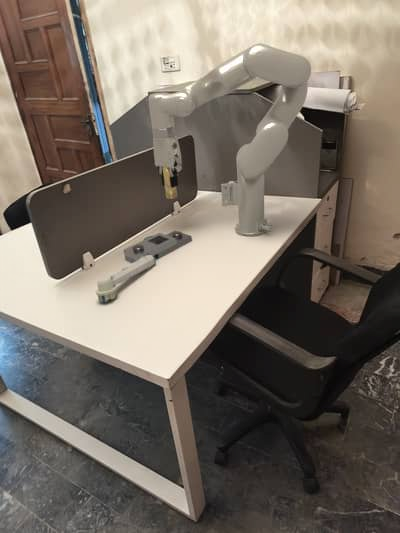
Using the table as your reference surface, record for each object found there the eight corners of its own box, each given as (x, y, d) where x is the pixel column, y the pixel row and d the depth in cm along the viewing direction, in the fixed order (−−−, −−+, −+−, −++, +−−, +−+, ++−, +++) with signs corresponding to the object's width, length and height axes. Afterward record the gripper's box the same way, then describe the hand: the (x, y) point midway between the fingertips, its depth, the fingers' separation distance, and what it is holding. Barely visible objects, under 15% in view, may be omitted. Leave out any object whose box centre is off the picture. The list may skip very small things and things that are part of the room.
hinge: (221, 206, 165) (220, 184, 160) (224, 202, 169) (222, 180, 164) (252, 206, 161) (252, 184, 156) (254, 202, 166) (253, 180, 161)
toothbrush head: (156, 254, 120) (102, 280, 100) (159, 273, 122) (106, 303, 102) (144, 253, 123) (88, 278, 103) (146, 271, 125) (93, 300, 105)
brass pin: (179, 196, 136) (175, 163, 130) (171, 199, 133) (167, 166, 127) (172, 194, 138) (168, 162, 132) (164, 197, 136) (159, 165, 130)
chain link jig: (175, 235, 142) (173, 223, 139) (192, 240, 136) (190, 228, 134) (125, 260, 127) (122, 247, 125) (141, 267, 121) (139, 254, 119)
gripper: (188, 132, 121) (193, 186, 130) (157, 129, 132) (163, 179, 141) (171, 137, 117) (177, 192, 126) (140, 133, 128) (148, 184, 137)
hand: (170, 185), depth 133 cm, fingers closed on brass pin, 4 cm apart
